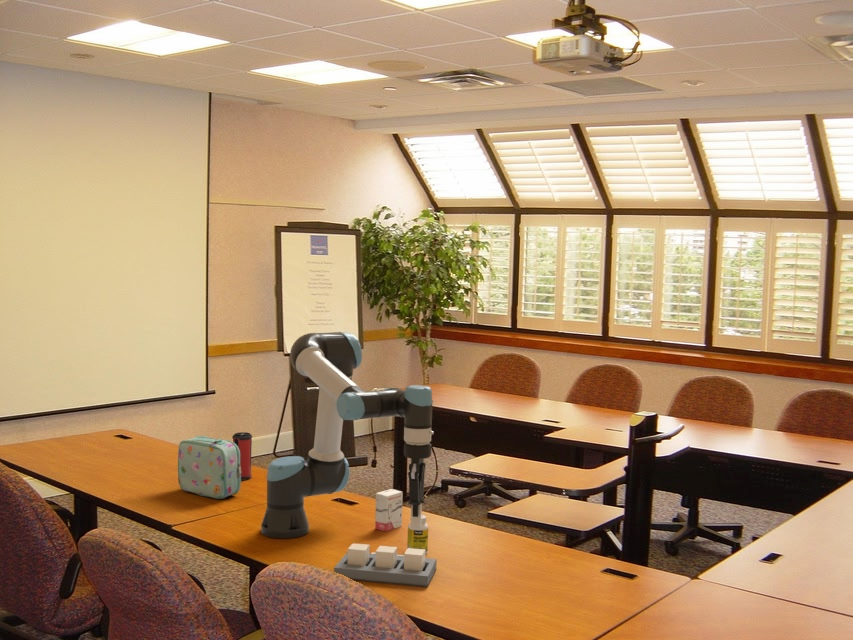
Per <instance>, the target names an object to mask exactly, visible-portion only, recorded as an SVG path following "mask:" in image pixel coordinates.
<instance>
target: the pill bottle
mask: <svg viewBox="0 0 853 640" xmlns="http://www.w3.org/2000/svg"><path fill="white" fill-rule="evenodd" d="M406 543H407V544H406V545H407V546H406V550H407V549H408V548H413V549H425V555H426V554H428V550H429V525H428V523H427V516H426V515H424V514H422V517H421V528H411V522H410V523H409V524H408V525H407V542H406Z"/></svg>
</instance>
